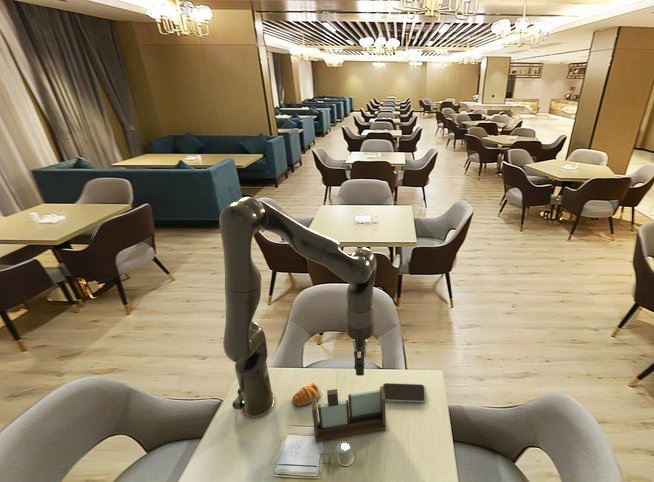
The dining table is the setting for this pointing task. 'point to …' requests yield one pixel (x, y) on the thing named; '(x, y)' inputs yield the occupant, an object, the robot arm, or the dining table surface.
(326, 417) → the sash
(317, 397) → the pastry
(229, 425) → the dining table surface
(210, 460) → the dining table surface
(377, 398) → the window frame
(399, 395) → the smartphone
